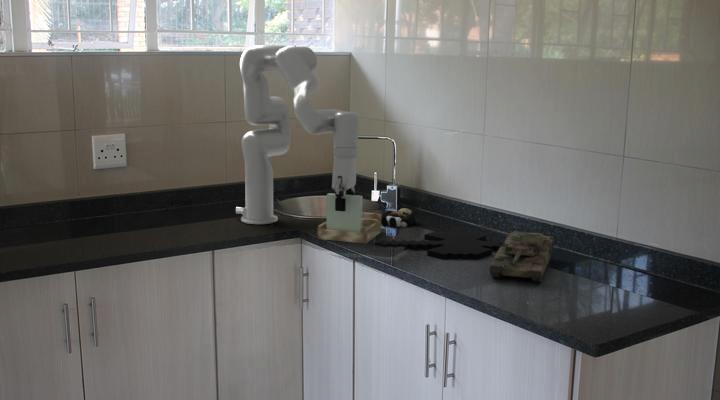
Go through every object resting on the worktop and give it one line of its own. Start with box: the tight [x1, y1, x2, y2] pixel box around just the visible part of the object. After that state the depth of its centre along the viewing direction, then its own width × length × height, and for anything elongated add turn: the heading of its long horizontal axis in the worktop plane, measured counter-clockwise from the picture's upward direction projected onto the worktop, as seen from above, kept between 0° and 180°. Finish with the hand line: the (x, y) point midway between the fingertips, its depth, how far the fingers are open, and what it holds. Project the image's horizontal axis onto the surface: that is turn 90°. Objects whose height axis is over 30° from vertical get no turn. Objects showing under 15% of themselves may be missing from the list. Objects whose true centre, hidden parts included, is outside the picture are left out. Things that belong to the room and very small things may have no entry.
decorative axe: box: [374, 230, 503, 261], centre depth 251 cm, size 32×2×30 cm
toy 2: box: [489, 230, 555, 283], centre depth 224 cm, size 13×37×10 cm, turn 161°
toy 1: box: [380, 207, 416, 229], centre depth 278 cm, size 12×8×15 cm
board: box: [326, 192, 364, 233], centre depth 254 cm, size 11×2×14 cm, turn 72°
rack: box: [317, 211, 382, 244], centre depth 259 cm, size 16×16×7 cm
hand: (344, 207), depth 253 cm, fingers open, 8 cm apart
